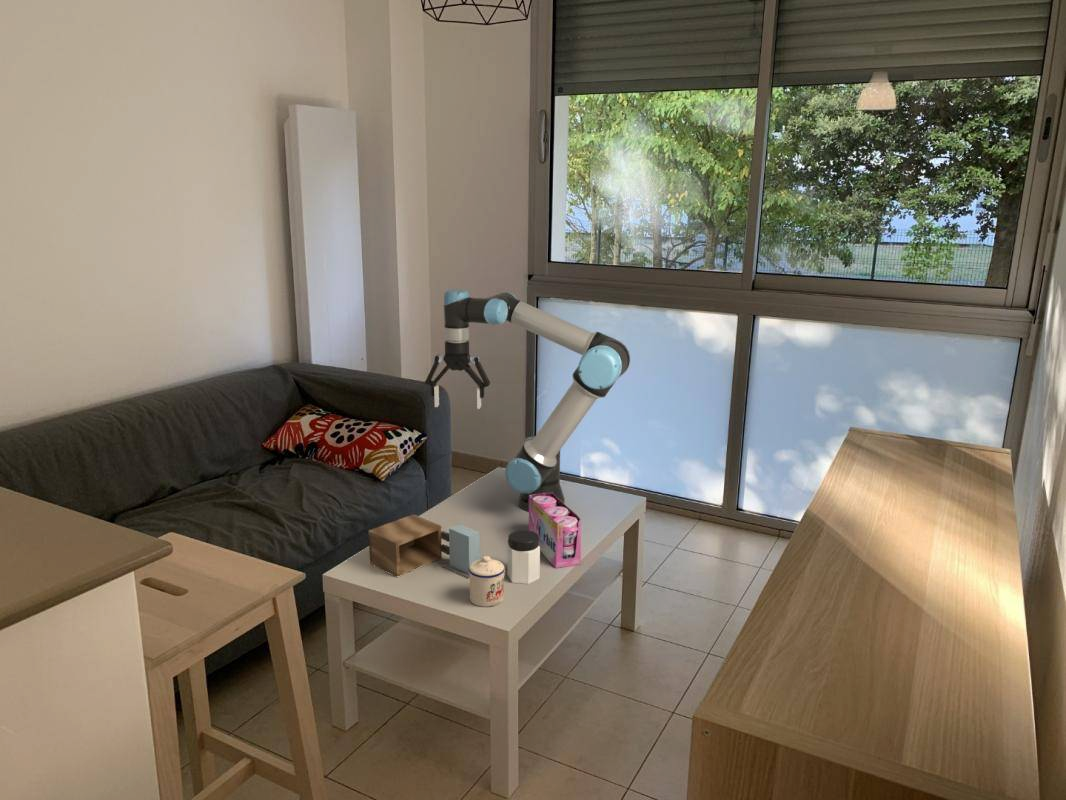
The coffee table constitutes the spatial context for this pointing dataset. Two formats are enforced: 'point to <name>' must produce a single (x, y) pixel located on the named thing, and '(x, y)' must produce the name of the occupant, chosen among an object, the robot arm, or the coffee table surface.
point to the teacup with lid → (486, 582)
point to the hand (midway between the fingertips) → (457, 407)
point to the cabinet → (408, 545)
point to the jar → (523, 557)
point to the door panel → (463, 547)
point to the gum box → (555, 529)
